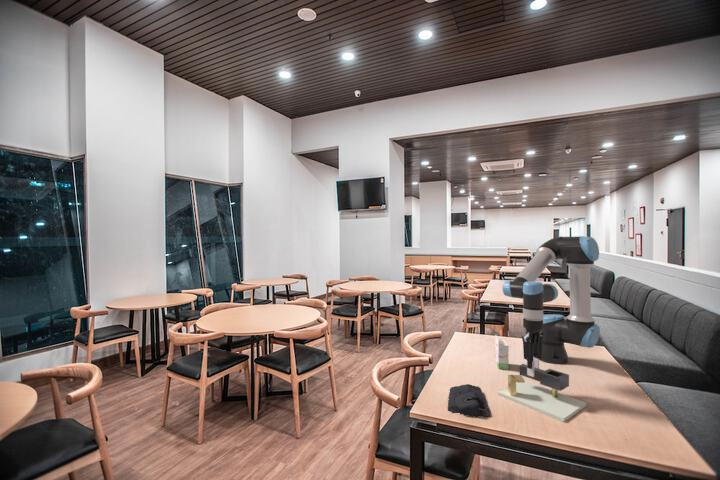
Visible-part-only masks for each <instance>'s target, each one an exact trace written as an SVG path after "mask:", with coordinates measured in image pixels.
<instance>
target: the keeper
mask: <svg viewBox="0 0 720 480" xmlns="http://www.w3.org/2000/svg"><path fill="white" fill-rule="evenodd" d="M525 381H526V380H525V379H524V377H523V376H522V375H520V374H508V375H507V383H508V384H507V386H508V387H507V388H508V392H509V393H510V395H511V396H516V383H518V382H519V383H525Z"/></svg>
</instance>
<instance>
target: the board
mask: <svg viewBox="0 0 720 480" xmlns="http://www.w3.org/2000/svg"><path fill="white" fill-rule="evenodd" d="M497 395H498V396H500V397H503V398H504V399H507V400H509V401H512V402H514V403H516V404H519V405H521V406H523V407H527V408H528V409H531V410H534V411H536V412H539V413H541V414H544V415H545V416H548V417H551V418H553V419H556V420H558V421H560V422H561V423H562V422H563V423H564V422H566V421H567V420H569V419H570V418H572V417H573V416H575V415H576V414H577V413H578V412H580V411H582V410H583V409H584V408H585V407H587V402H586V401H583V400H580V399H577V398H574V397H571V396H568V395H566V394H563V393H560V392H558V397H557V398H555V397H552V389H549V388H546V387H543V386H542V385H541V386H540V385H538V384H534V383H532V382H529V381H526V380H525V383H519V382H516V396H511V395H510V393H509V392H508V387H506V388H504V389H502V390H500V391H498V392H497Z"/></svg>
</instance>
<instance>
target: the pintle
mask: <svg viewBox="0 0 720 480" xmlns="http://www.w3.org/2000/svg"><path fill="white" fill-rule="evenodd" d="M551 390H552V397H555V398H557V397H558V393H559V392H558V391H559V390H556V389H553V388H551Z"/></svg>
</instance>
